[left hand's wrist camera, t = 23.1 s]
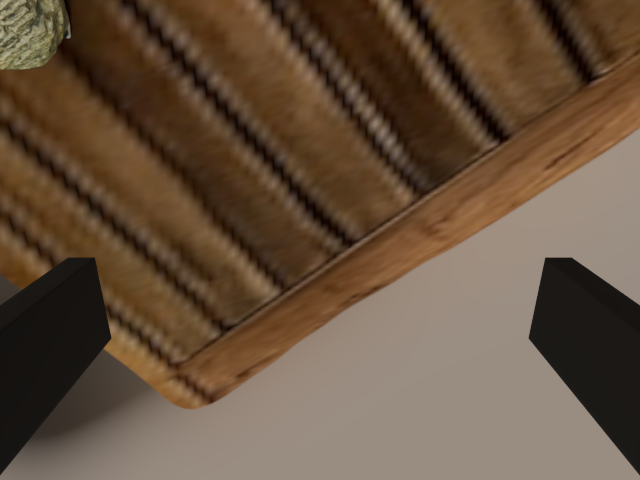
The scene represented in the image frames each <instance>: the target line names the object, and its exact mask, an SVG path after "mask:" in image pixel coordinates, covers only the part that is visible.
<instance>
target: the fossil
mask: <svg viewBox="0 0 640 480" xmlns="http://www.w3.org/2000/svg"><path fill="white" fill-rule="evenodd" d="M70 37H71V33H70V23H69V17H68V14H67V11H66V8H65V3H64V0H0V70H3V69H18V70H19V69H30V68H34V67H41V66H43V65H45V64H46V63H47V62H48V61H49V59H50V58H51V57H52V56H53V55H54V54H55V53H56V50H57V46H58V45H59V44H60V43H61V42H62V39H63V38H70Z"/></svg>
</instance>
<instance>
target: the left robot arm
mask: <svg viewBox="0 0 640 480" xmlns="http://www.w3.org/2000/svg"><path fill="white" fill-rule="evenodd" d="M110 339H111V334H110V329H109V324H108V320H107V315H106V310H105V305H104V300H103V296H102V291H101V286H100V281H99V276H98V271H97V267H96V262H95V258H67V259H66V260H64V261H63V262H61V263H60V264H59V265H57V266H56V267H54V268H53V269H51V270H50V271H49V272H47V273H46V274H44V275H43V276H41V277H40V278H39V279H37V280H36V281H34V282H33V283H31V284H30V285H29V286H27V287H26V288H24V289H23V290H21V291H20V292H19V293H17V294H16V295H14V296H13V297H12V298H10V299H9V300H7V301H6V302H4V303H3V304H2V305H0V475H1V474H2V472H3V471H4V470H5V469H6V467H7V466H8V465H9V464H10V463H11V461H12V460H13V459H14V458H15V456H16V455H17V454H18V453H19V451H20V450H21V449H22V448H23V446H24V445H25V444H26V443H27V442H28V440H29V439H30V438H31V437H32V435H33V434H34V433H35V432H36V431H37V429H38V428H39V427H40V425H41V424H42V423H43V422H44V421H45V419H46V418H47V417H48V416H49V414H50V413H51V412H52V411H53V410H54V408H55V407H56V406H57V405H58V403H59V402H60V401H61V400H62V399H63V397H64V396H65V395H66V393H67V392H68V391H69V390H70V389H71V387H72V386H73V385H74V384H75V382H76V381H77V380H78V379H79V378H80V376H81V375H82V374H83V373H84V371H85V370H86V369H87V368H88V366H89V365H90V364H91V363H92V362H93V360H94V359H95V358H96V357H97V355H98V354H99V353H100V352H101V350H102V349H103V348H104V347H105V346H106V344H107V343H108V342H109V341H110ZM529 339H530V341H531V342H532V343H533V344H534V346H535V347H536V348H537V349H538V350H539V352H540V353H541V354H542V355H543V357H544V358H545V359H546V360H547V362H548V363H549V364H550V365H551V366H552V368H553V369H554V370H555V371H556V373H557V374H558V375H559V376H560V378H561V379H562V380H563V381H564V383H565V384H566V385H567V386H568V387H569V389H570V390H571V391H572V392H573V394H574V395H575V396H576V397H577V399H578V400H579V401H580V402H581V403H582V405H583V406H584V407H585V408H586V410H587V411H588V412H589V413H590V415H591V416H592V417H593V418H594V419H595V421H596V422H597V423H598V424H599V426H600V427H601V428H602V429H603V430H604V432H605V433H606V434H607V435H608V437H609V438H610V439H611V440H612V442H613V443H614V444H615V445H616V447H617V448H618V449H619V450H620V451H621V453H622V454H623V455H624V456H625V458H626V459H627V460H628V461H629V463H630V464H631V465H632V466H633V467H634V469H635V470H636V471H637V472H638V474H639V475H640V305H638V304H637V303H636V302H634V301H633V300H631V299H630V298H628V297H627V296H626V295H624V294H623V293H621V292H620V291H619V290H617V289H616V288H614V287H613V286H611V285H610V284H609V283H607V282H606V281H604V280H603V279H601V278H600V277H599V276H597V275H596V274H594V273H593V272H591V271H590V270H589V269H587V268H586V267H584V266H583V265H581V264H580V263H579V262H577V261H576V260H574V259H573V258H545V262H544V267H543V271H542V276H541V281H540V286H539V291H538V296H537V300H536V305H535V310H534V315H533V320H532V324H531V329H530V334H529Z"/></svg>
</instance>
